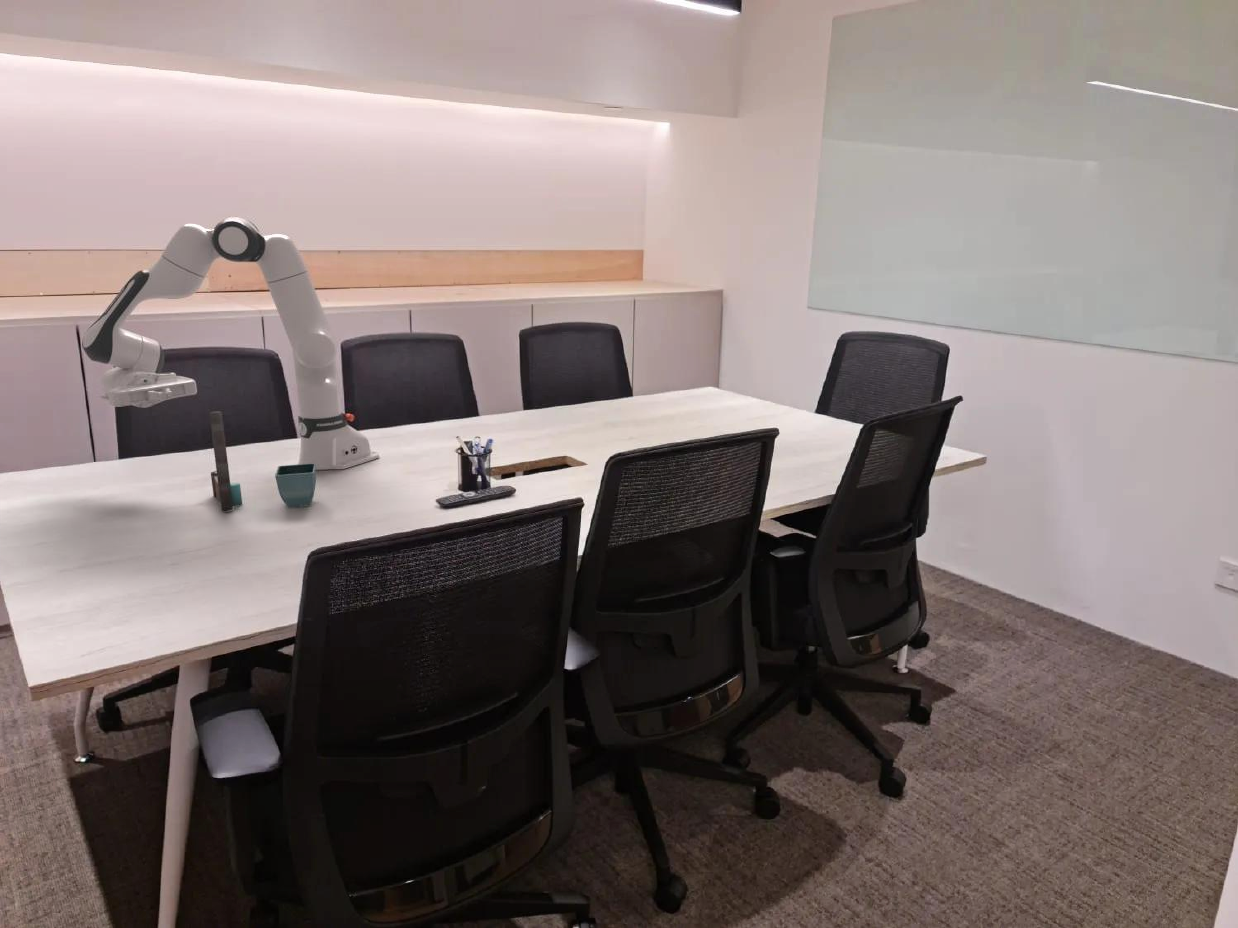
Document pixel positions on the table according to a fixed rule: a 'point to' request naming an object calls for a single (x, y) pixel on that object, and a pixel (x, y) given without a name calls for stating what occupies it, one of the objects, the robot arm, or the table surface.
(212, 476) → the hinge post
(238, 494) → the post
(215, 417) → the brown board with post
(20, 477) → the table surface
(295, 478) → the flower pot
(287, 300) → the robot arm
